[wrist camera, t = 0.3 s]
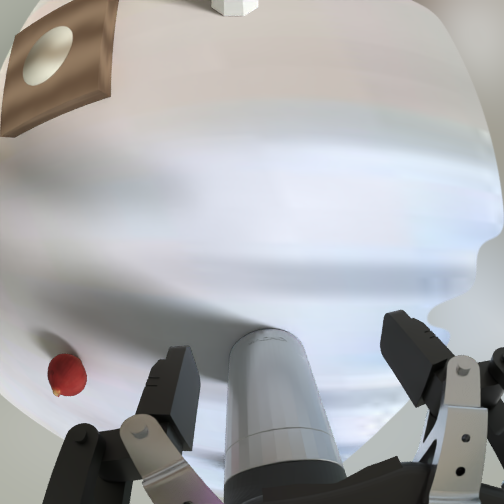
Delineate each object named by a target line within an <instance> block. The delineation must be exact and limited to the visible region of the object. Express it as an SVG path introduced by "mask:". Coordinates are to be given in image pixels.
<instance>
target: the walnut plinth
mask: <svg viewBox="0 0 504 504" xmlns="http://www.w3.org/2000/svg"><path fill="white" fill-rule="evenodd" d="M118 2H119V0H73V1H71V2H69V3H67V4H65V5H63V6H62V7H60V8H58V9H56V10H54V11H53V12H51V13H49V14H47V15H46V16H44V17H42V18H41V19H39V20H38V21H36V22H34V23H33V24H31V25H30V26H28V27H27V28H25V29H24V30H23V31H21V32H20V33H18V34H17V35H16V36H15V39H14V43H13V46H12V50H11V55H10V59H9V64H8V69H7V74H6V80H5V86H4V94H3V102H2V112H1V127H0V137H14V138H15V137H17V136H18V135H20V134H22V133H24V132H26V131H28V130H30V129H32V128H34V127H36V126H38V125H40V124H42V123H44V122H46V121H48V120H51V119H53V118H55V117H57V116H60V115H62V114H64V113H67V112H69V111H72V110H74V109H77V108H79V107H82V106H85V105H87V104H90V103H93V102H96V101H99V100H102V99H105V98H108V97H111V68H112V52H113V40H114V31H115V22H116V15H117V8H118Z"/></svg>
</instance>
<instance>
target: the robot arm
mask: <svg viewBox="0 0 504 504" xmlns="http://www.w3.org/2000/svg"><path fill="white" fill-rule="evenodd" d="M380 348H381V353H382V355H383V357H384V359H385V360H386V362H387V363H388V365H389V366H390V368H391V369H392V371H393V372H394V374H395V375H396V377H397V379H398V380H399V382H400V383H401V385H402V386H403V388H404V390H405V391H406V393H407V394H408V396H409V398H410V399H411V401H412V402H413V404H414V406H415V407H416V408H417V407H419V406H421V405H424V404H426V405H427V407H428V408H429V409H428V411H427V415H426V420H425V424H424V428H423V433H422V437H421V441H420V445H419V448H418V451H417V453H416V455H415V457H414V460H413V461H412V462H400V461H399V459H398V457H397V456H395V457H393V458H390V459H388V460H385V461H382V462H380V463H377V464H373V465H371V466H368V467H366V468H364V469H362V470H360V471H359V472H357V473H355V474H353V475H351V476H349V477H346V474H345V470H344V467H343V464H342V461H341V458H340V455H339V451H338V448H337V445H336V443H335V440H334V437H333V433H332V430H331V427H330V424H329V421H328V418H327V415H326V412H325V409H324V406H323V403H322V400H321V397H320V394H319V391H318V388H317V385H316V382H315V379H314V376H313V373H312V370H311V367H310V364H309V361H308V358H307V355H306V352H305V349H304V347H303V345H302V343H301V342H300V341H299V340H298V339H297V338H296V337H295V336H294V335H292V334H290V333H288V332H285V331H283V330H277V329H264V330H258V331H255V332H252V333H249V334H248V335H246V336H244V337H243V338H241V339H240V340H239V341H238V342H237V343H236V344H235V345H234V347H233V348H232V350H231V353H230V358H229V374H228V390H227V412H226V436H225V470H224V503H222V501H221V500H220V499H219V498H218V497H217V496H216V495H215V494H214V493H213V492H212V491H211V490H210V489H209V487H208V486H207V485H206V484H205V483H204V482H203V481H202V479H201V478H200V477H199V476H198V475H197V474H196V472H195V471H194V470H193V469H192V467H191V466H190V465H189V464H188V463H187V461H185V459H184V458H183V457H182V451H192V446H193V438H194V430H195V422H196V415H197V407H198V400H199V393H200V376H199V372H198V369H197V366H196V363H195V360H194V357H193V354H192V351H191V349H190V347H189V346H175V347H170V348H169V351H168V354H167V357H166V359H159V361H158V362H157V363H156V364H155V365H154V366H153V367H152V368H151V371H150V374H149V377H148V379H147V382H146V387H145V388H144V390H143V393H142V396H141V399H140V402H139V405H138V408H137V411H136V414H135V415H133V416H131V417H129V418H128V419H126V420H125V421H124V422H123V424H122V425H121V427H120V428H119V429H115V430H109V431H102V432H98V430H97V429H96V428H95V427H94V426H93V425H91V424H87V423H81V424H78V425H75V426H74V427H72V428H71V429H70V430H69V431H68V433H67V435H66V437H65V440H64V442H63V445H62V447H61V450H60V453H59V456H58V458H57V461H56V463H55V466H54V469H53V472H52V475H51V478H50V481H49V484H48V487H47V490H46V494H45V497H44V500H43V503H42V504H129V503H130V496H131V490H132V484H133V480H140V479H143V482H142V485H143V487H144V489H145V491H146V492H147V494H148V496H149V497H150V498H151V500H152V502H153V503H154V504H504V481H503V482H502V485H501V487H502V489H501V488H498V487H494V486H490V485H487V484H483V483H481V481H482V475H483V468H484V461H485V452H486V442H487V439H488V441H489V443H490V444H491V446H492V447H493V449H494V451H495V453H496V455H497V457H498V459H499V461H500V463H501V464H502V467H503V469H504V403H503V401H502V400H501V396H502V394H503V393H504V347H503V348H498V349H497V350H495V352H494V353H493V356H492V358H491V360H490V361H484V362H479V363H477V362H476V361H475V360H474V359H473V358H471V357H469V356H465V355H458V356H455V355H454V354H452V352H451V351H450V350H449V349H448V348H447V347H446V346H445V345H444V344H443V343H442V342H441V340H440V339H439V338H438V337H436V336H435V334H434V333H433V332H432V331H430V329H429V328H428V327H427V326H426V325H425V324H424V323H423V322H421V321H419V320H417V319H415V318H412V319H411V318H410V317H409V316H408V315H407V313H406V312H405V311H403V310H398V311H394V312H390V313H386V314H385V316H384V320H383V327H382V334H381V341H380Z"/></svg>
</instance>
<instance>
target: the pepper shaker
mask: <svg viewBox="0 0 504 504" xmlns="http://www.w3.org/2000/svg"><path fill="white" fill-rule="evenodd" d="M211 7H212V8H213V9H215V10H216V11H218V12H219V13H221V14H222V15H223V16H245V15H246V14H248V13H249V12H251V11H253V10H255V9H256V8H258V0H212V5H211Z"/></svg>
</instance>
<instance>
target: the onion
mask: <svg viewBox="0 0 504 504" xmlns="http://www.w3.org/2000/svg"><path fill="white" fill-rule="evenodd" d="M48 380H49V383H50V385H51V388H52V390H53V394H54V395H55V396H57V397H59V396H60V395H63V396H74V395H77V394H78V393H80V392H81V391H82V390H83V389H84V387H85V385H86V382H87V375H86V371H85V368H84V366H83V365H82V362H81V360H80V359H79V358H77V357H75V356H73V355H71V354H59V355H57V356H56V357H54V358H53V359H52V360H51V362H50V363H49V367H48Z"/></svg>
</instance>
